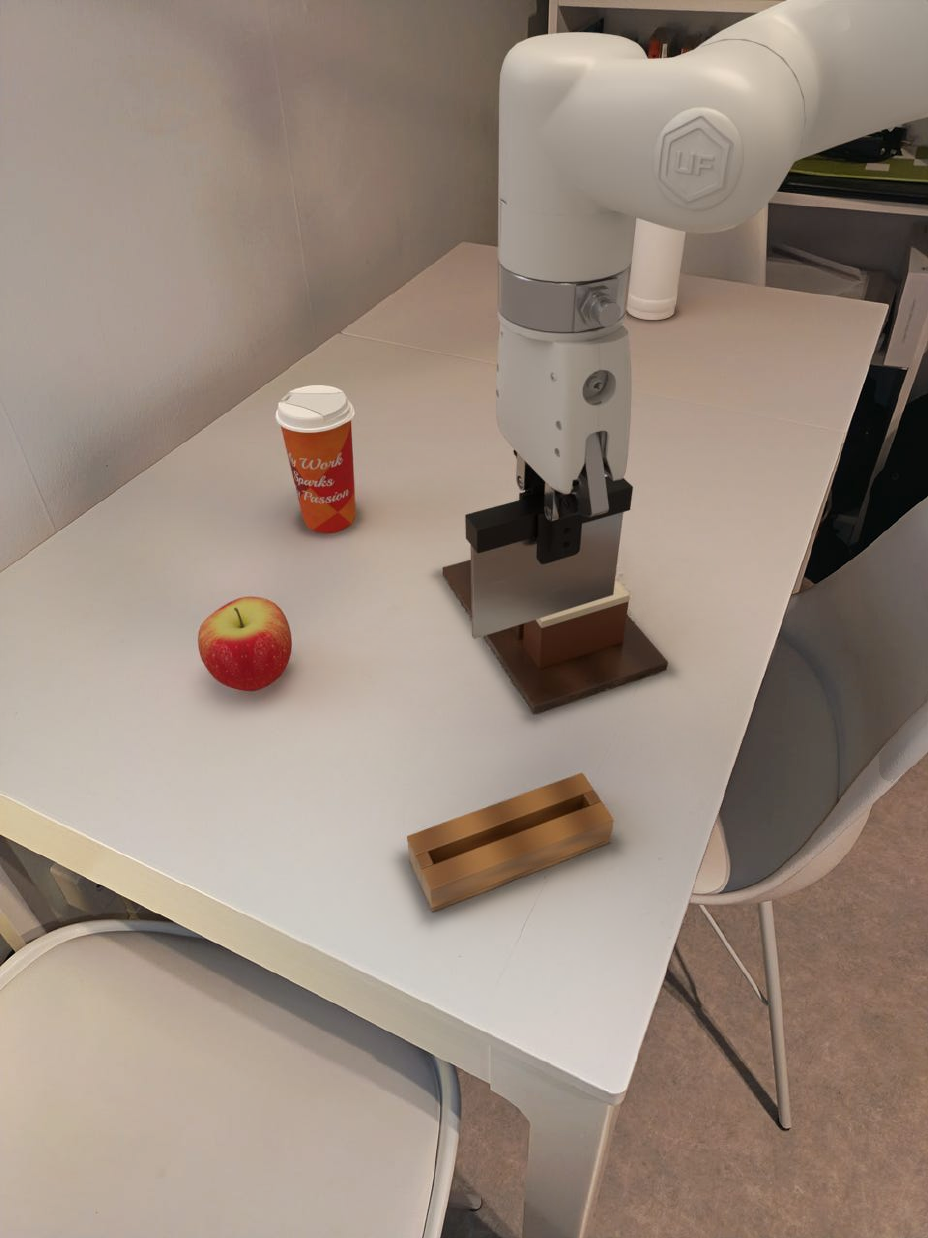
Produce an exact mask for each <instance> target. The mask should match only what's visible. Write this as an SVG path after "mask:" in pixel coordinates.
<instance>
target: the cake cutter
mask: <svg viewBox="0 0 928 1238" xmlns="http://www.w3.org/2000/svg"><path fill="white" fill-rule="evenodd" d="M605 481H606V489H607V497H608V505H609V510H608V512H607V513H604V514H600V515H597V516H593V517H586V516H583V520H582V532H581V543H580V551H579V553H578V554H576V555H574V556H570V557H567V558H564V559H560V560H557V561H554V562H550V563H547V564H541V563H540V562H539V561H538V560H537V558H536V555H537V532H538V515H539V514H542V513H544V497H545V493H543V494H540V495H536V496H532V497H529V498H525V499H521V500H519V499H517V500H514V501H511V502H507V503H504V504H500V505H495V506H491V507H489V508H485V509H481V510H477V511H474V512H470V513H466V514H464V518H465V520H464V521H465V526H464V527H465V539H466V540H467V542H468V544H470V549H469V550H470V560H471V606H472V618H471V637H472V638H473V640H477V639H480V638H483V636H486V635H489V634H492V633H495V632H498V631H501V630H504V629H508V628H511V627H514V626H517V625H520V624H523V623H527V622H530V621H533V620H536V619H539V618H542V617H545V616H549V615H552V614H555V613H558V612H561V611H564V610H568V609H571V608H574V607H577V606H580V605H583V604H586V603H590V602H593V601H596V600H599V599H602V598H605V597H609V596H612V595H613V593H614V585H615V579H616V576H617V570H618V569H617V568H618V561H619V560H618V559H619V552H620V543H621V536H622V535H621V534H622V528H623V527H622V526H623V518H624V513H625V512H628V511H630V510H631V506H632V499H633V490H634V486H633V485H632V484H631V483H630V482H629V481H628V480H627V479H626V478H624V477H623V479H621V480H615V481H613V480H612V479H611V478H610V477H608V476H607V475H605ZM570 493H574V486H573V489H571V492H570ZM570 493H569V494H570ZM564 495H567V494H563V493H561V495H560V498H561V497H563V496H564Z"/></svg>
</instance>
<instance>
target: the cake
mask: <svg viewBox="0 0 928 1238" xmlns="http://www.w3.org/2000/svg"><path fill="white" fill-rule="evenodd" d="M441 569H442V576H444V578H445V580H446V581H447V583H448V585H449V586H450V587H451V589H452V591H453V592H454V594H455V595H456V597H457V599H458V600H459V602H460V603H461V604H462V606H463V608H464V609H465V610H466V612H467V614H468V615H469V617H470V618H471V619H472V606H471V559H468V560H463V561H461V562H457V563H453V564H450V565H446V566H443V567H442V568H441ZM482 638H484V640H485V641H486V643H487V644H488V646H489V647H490V649H491V651H492V652H493V654H494V655H495V656H496V658H497V661H498V662H499V663H500V664H501V666H502V667H503V669H504V670H505V672H506V673H507V675H508V676H509V678H510V680H511V681H512V683H513V684H514V685H515V687H516V688H517V690H518V692H519V693H520V695H521V696H522V698H523V699H524V701H525V703H526V704H527V705H528V707H529V709H530V710H531V712H532V713H533V714H538V713H541V712H544V711H547V710H551V709H553V708H556V707H559V706H561V705H564V704H568V703H571V702H573V701H577V700H580V699H583V698H586V697H588V696H592V695H594V694H598V693H600V692H601V693H602V692H604V691H606V690H610V689H613V688H615V687H618V686H621V685H624V684H627V683H630V682H633V681H636V680H639V679H642V678H645V677H647V676H651V675H654V674H657V673H660V672H664V671H667V670H668V665H669V662H668V659H666V657H664V655H663V654H662V653H661V652H660V651H659V650H658V648H657V647H656V646H655V645H654V644H653V642H652V641H651V640H650V639H649V638H648V636H646V634H644V632H643V631H642V630H641V628H640V627H639V626H638V625H637V624H636V623H635V621H634V620H633V619H632V618H631V617H630V616H629V615H628V614H627V618H626V625H625V632H624V640H623V643H620V644H617V645H614V646H611V647H607V648H604V649H601V650H598V651H595V652H592V653H589V654H586V655H582V656H579V657H576V658H573V659H570V660H567V661H564V662H561V663H558V664H554V665H551V666H548V667H545V668H542V669H539V668H538V667H537V665H536V664H535V662H534V661H533V659H532V658H531V657H530V655H529V654H528V652H527V651H526V649H525V648H524V646H523V638H524V623H523V624H520V625H517V626H514V627H511V628H508V629H504V630H501V631H498V632H495V633H492V634H489V635H486V636H482Z"/></svg>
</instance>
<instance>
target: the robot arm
mask: <svg viewBox="0 0 928 1238" xmlns="http://www.w3.org/2000/svg"><path fill="white" fill-rule="evenodd" d="M498 88H499V89H498V188H497V189H498V191H497V192H498V194H497V195H498V196H497V197H498V199H497V200H498V201H497V202H498V204H497V205H498V206H497V208H498V211H497V212H498V213H497V217H498V218H497V319H498V321H499V323H500V324H499V334H498V342H497V343H498V345H497V357H496V360H497V361H496V374H495V375H496V376H495V411H496V423H497V427H498V429H499V432H500V433H501V435H502V437H503V438H504V439H505V441H506V442H507V443H508V444H509V445H510V446H511V447H512V449H513V450H512V451H513V455H514V456H515V459H516V471H515V472H516V473H515V474H516V475H515V477H516V478H515V481H516V485H517V487H518V489H519V490H520V491H522V492H519V493H518V500H521V499H525V498H529V497H532V496H536V495H540V494H543V493H545V497H544V513H542V514H539V515H538V532H537V555H536V558H537V560H538V561H539V562H540V563H541V564H547V563H550V562H554V561H557V560H560V559H564V558H567V557H570V556H574V555H576V554H578V553H579V551H580V543H581V532H582V520H583V516H586V517H593V516H597V515H600V514H604V513H607V512H608V510H609V505H608V497H607V489H606V481H605V477H606V476H608V477H610V478H611V479H612V480H613V481H615V480H621V479H623V478H624V477H625V475H626V473H627V468H628V459H629V450H630V449H629V447H630V438H631V437H630V436H631V417H632V393H633V392H632V389H633V388H632V386H633V384H632V380H633V379H632V357H631V356H632V355H631V344H630V336H629V335H630V334H629V330H628V329H627V328H626V327H625V326H624V324H625V322H626V319H627V313H628V311H627V302H628V292H629V283H630V274H631V264H632V255H633V246H634V236H635V227H636V218H639V219H642V220H645V221H648V222H651V223H654V224H657V225H660V226H664V227H667V228H670V229H674V230H678V231H684V232H686V233H689V234H690V233H691V234H714V233H720V232H726V231H728V230H732V229H734V228H736V227H738V226H740V225H742V224H744V223H746V222H748V221H749V220H751V219H753V218H755V216H756V215H757V214H759V213H760V212H761V211H762V210H763V209H764V208H765V207H766V206H767V205H768V204H769V203H770V201H771V200H772V199H773V198H774V196H775V195H776V194H777V192H778V190H779V189H780V187H781V185H782V184H783V183H784V180H785V179H786V177H787V176H788V173H789V171H790V170H791V169H792V167H793V165H794V163H795V162H797V161H800V160H802V159H804V158H807V157H810V156H812V155H813V156H814V155H815V154H818V153H821V152H824V151H827V150H829V149H832V148H835V147H837V146H840V145H843V144H846V143H849V142H852V141H854V140H857V139H860V138H863V137H866V136H869V135H871V134H875V133H878V132H880V131H883V130H886V129H890V128H893V127H897V126H900V125H904V124H907V123H911V122H914V121H919V120H921V119H926V118H928V0H784V1H782V2H779V3H776V4H775V5H773V6H770V7H767V8H766V9H763V10H762V11H759V12H757V13H755V14H753V15H751V16H749V17H746V18H744V19H741V20H740V21H738V22H736V23H733V24H732V25H730V26H729V27H726V28H724V29H722V30H720V31H719V32H718V33H717V32H716V34H714V35H712V36H711V37H710V38H708V39H706V40H705V41H704V42H702V43H700V44H699V45H698V46H696V47H695V48H694V49H692V50H689V51H687V52H684V53H681V54H679V55H676V56H673V57H663V58H662V57H661V58H660V57H659V58H648V56H647V53H646V52H645V50H644V49H643V47H642V46H640V45H639V43H637V42H636V41H635V40H631V39H629V38H627V37H624V36H620V35H616V34H615V35H614V34H610V33H609V34H608V33H600V32H584V31H581V32H579V31H578V32H576V31H573V32H572V31H571V32H555V33H548V34H547V33H546V34H541V35H536V36H531V37H529V38H526V39H523V40H521V41H519V42H517V43H516V44H515V45H514V46H513V47H512V48H510V49H509V51H508V52H507V54H506V55H505V57H504V59H503V62H502V65H501V70H500V72H499V87H498ZM573 486H574V493H570V492H571V489H573ZM561 493H563V494H567V495H564V496H563V497H561V498H560V495H561ZM569 493H570V494H569Z"/></svg>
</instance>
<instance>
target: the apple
mask: <svg viewBox="0 0 928 1238" xmlns="http://www.w3.org/2000/svg"><path fill="white" fill-rule="evenodd" d="M292 640H293V638H292V631H291V627H290V623H289V621H288V619H287V616H286V615H285V613H284V612H283V610H282V609H281V607H279V605H278V604H277V603H275V602H273V601H272V600H269V599H267V598H264V597H259V596H241V597H238V598H236V599H234V600H231V601H229V602H227V603H226V604H224V605H222V606H221V607H219V608H217V609H215V611H213V612H212V613H211V614H210V615H209V616H208V617H206V618H205V619H204V620H203V621H202V623H201V625H200V627H199V630H198V635H197V645H198V646H197V647H198V652H199V655H200V659H201V661H202V663H203V666H204V667H205V669H206V670H207V672H208V674H210V675H211V677H213V678H214V679H215V680H216V681H217V682H219V684H220V683H221V684H222V685H223V686H225V687H227V688H230V689H233V690H236V691H241V692H256V691H259V690H263V689H265V688H266V687H268V686H270V685H272V684H273V683H275V682H276V681H277V680H278V679H280V677H281V676H282V675H283V674H284V672H285V671H286V669H287V667H288V665H289V662H290V659H291V655H292V647H293V646H292V645H293V641H292Z"/></svg>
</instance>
